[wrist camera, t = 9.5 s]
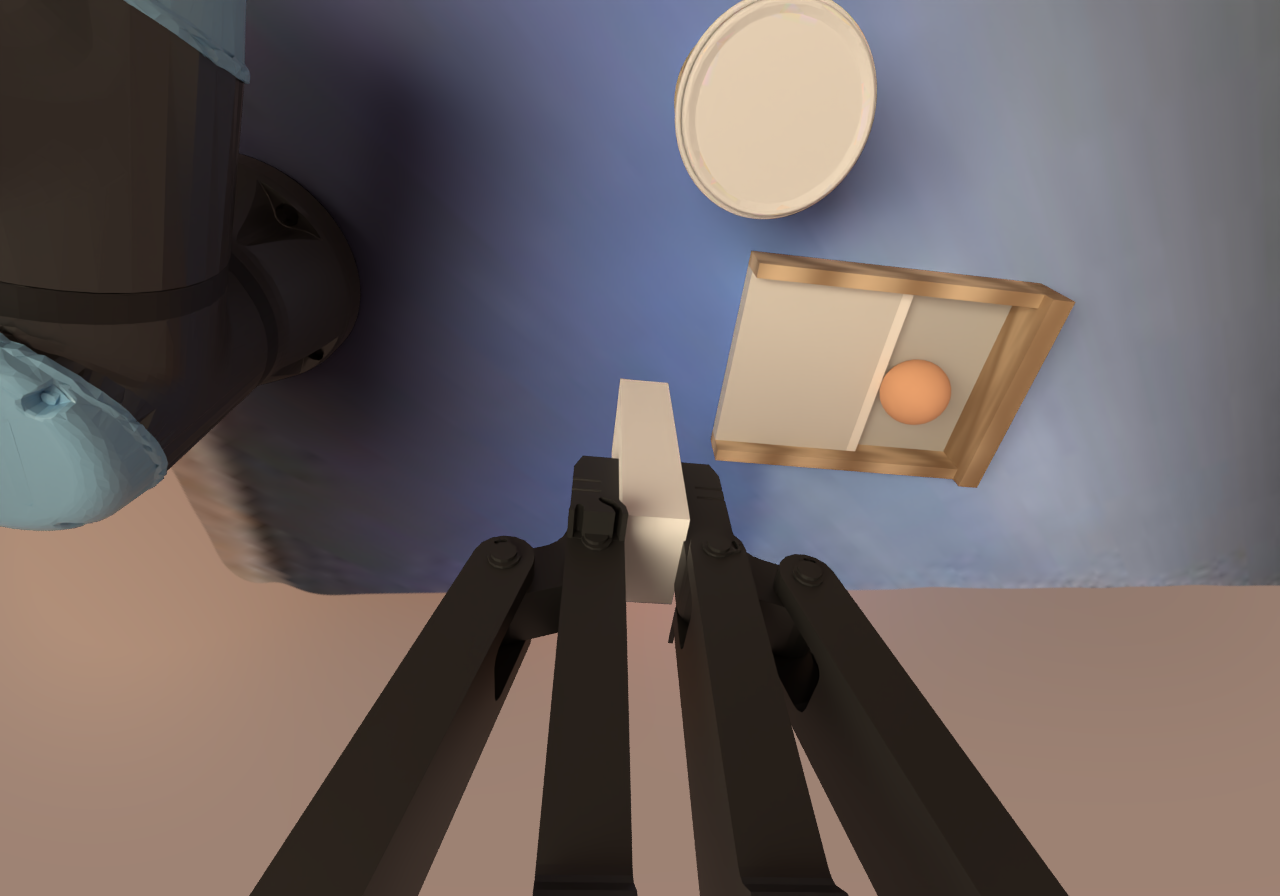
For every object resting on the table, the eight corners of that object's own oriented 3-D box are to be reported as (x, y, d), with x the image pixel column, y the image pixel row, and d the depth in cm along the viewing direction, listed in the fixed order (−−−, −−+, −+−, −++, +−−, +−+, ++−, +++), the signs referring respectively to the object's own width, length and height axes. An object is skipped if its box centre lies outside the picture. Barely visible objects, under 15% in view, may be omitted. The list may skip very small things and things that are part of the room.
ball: (948, 424, 47) (892, 396, 50) (974, 368, 44) (913, 342, 47) (915, 445, 45) (858, 414, 48) (941, 387, 42) (878, 358, 45)
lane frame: (710, 440, 51) (717, 467, 48) (751, 250, 42) (762, 267, 39) (954, 460, 53) (976, 487, 50) (1040, 283, 44) (1075, 302, 41)
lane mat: (712, 430, 51) (715, 439, 49) (748, 264, 43) (752, 271, 42) (941, 449, 52) (949, 459, 51) (1014, 294, 45) (1025, 301, 44)
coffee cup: (784, -28, 34) (853, -63, 24) (828, 138, 39) (902, 167, 29) (635, 57, 36) (642, 58, 26) (695, 205, 41) (721, 255, 31)
